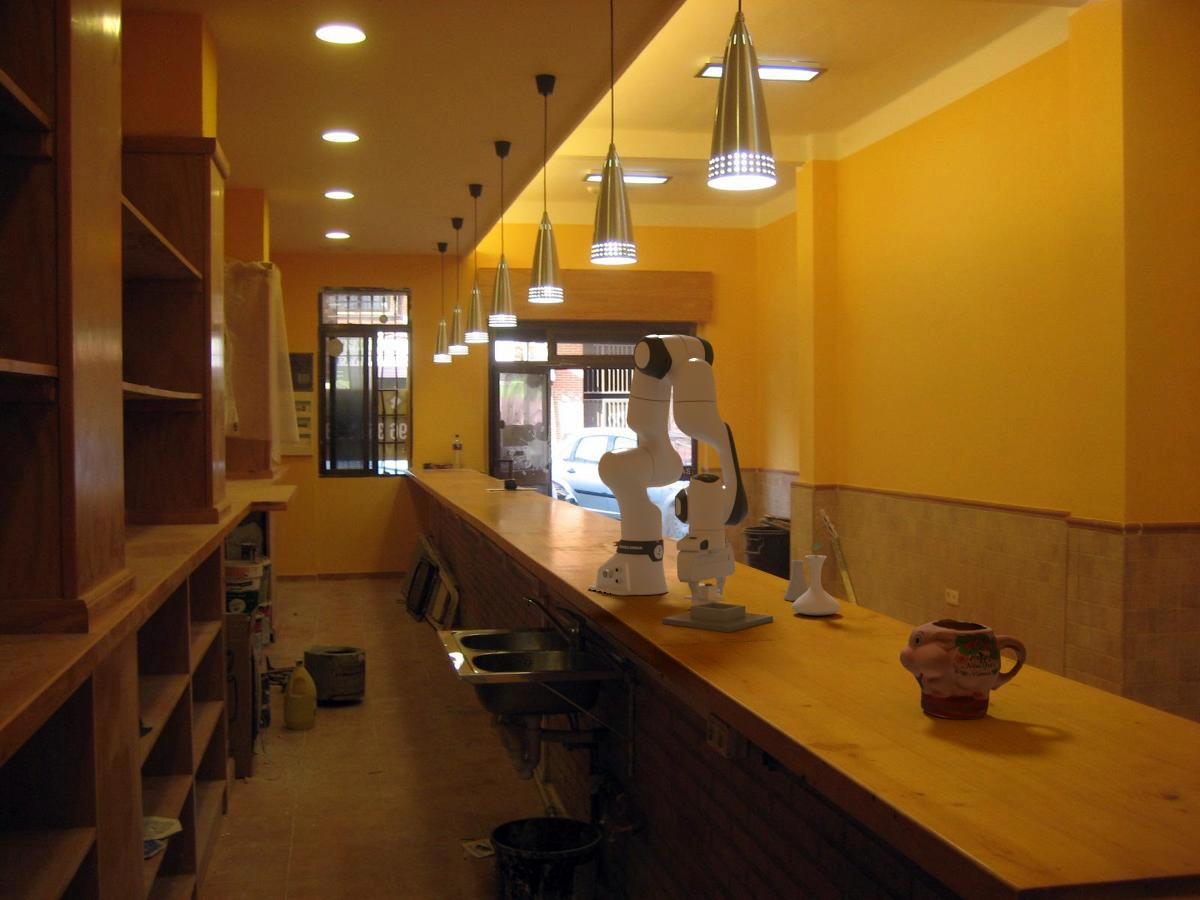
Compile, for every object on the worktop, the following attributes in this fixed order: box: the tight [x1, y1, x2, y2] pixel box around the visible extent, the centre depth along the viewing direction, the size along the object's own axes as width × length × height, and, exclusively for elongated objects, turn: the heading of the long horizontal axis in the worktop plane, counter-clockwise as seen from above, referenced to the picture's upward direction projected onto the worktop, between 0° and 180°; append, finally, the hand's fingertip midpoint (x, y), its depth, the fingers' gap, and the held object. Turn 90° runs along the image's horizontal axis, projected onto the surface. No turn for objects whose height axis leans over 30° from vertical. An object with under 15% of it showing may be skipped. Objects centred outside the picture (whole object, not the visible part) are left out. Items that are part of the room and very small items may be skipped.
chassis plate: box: [662, 602, 774, 634], centre depth 260 cm, size 18×18×4 cm
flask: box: [783, 559, 809, 602], centre depth 293 cm, size 7×7×10 cm
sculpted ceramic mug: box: [899, 618, 1027, 720], centre depth 179 cm, size 20×12×14 cm, turn 99°
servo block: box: [683, 582, 726, 606], centre depth 279 cm, size 9×4×6 cm, turn 49°
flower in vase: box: [791, 508, 841, 616], centre depth 270 cm, size 13×11×25 cm
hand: (707, 597), depth 279 cm, fingers open, 8 cm apart
